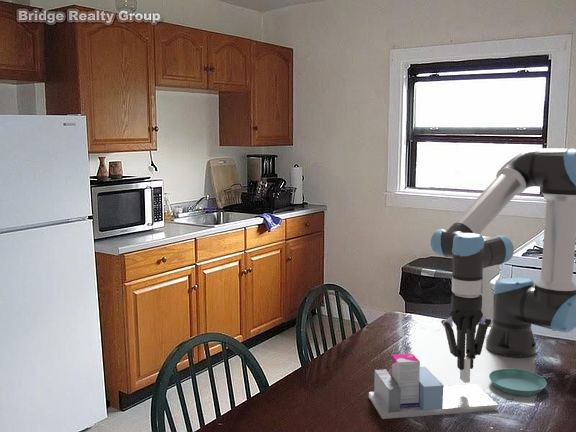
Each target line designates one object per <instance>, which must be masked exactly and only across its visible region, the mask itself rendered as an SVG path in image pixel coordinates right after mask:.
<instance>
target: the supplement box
mask: <svg viewBox="0 0 576 432" xmlns="http://www.w3.org/2000/svg"><path fill="white" fill-rule="evenodd" d="M420 367H421V361H420V360H419V359H418V358H417V357H416V356H415V355H414V354H413V353H402V354H401V353H400V354H391V375H390V376H391V377H392V378H393V379H394V381H395V382H396V383H397V384H398V386H399V387H400V388H401V399H400V406H405V405H418V404H419V381H420Z"/></svg>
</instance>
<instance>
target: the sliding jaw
mask: <svg viewBox="0 0 576 432" xmlns="http://www.w3.org/2000/svg"><path fill="white" fill-rule="evenodd" d="M444 387H445V385H444V384H443V383H442V382H441V381H440V380H439V379H438V378H437V377H436V376H435V374H433V373H432V372H431V371H430V370H429V369H428V367H427V366H420V381H419V405H420V406H421V407H422V409H423V410H429V409H443V389H444Z"/></svg>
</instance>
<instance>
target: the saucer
mask: <svg viewBox="0 0 576 432" xmlns="http://www.w3.org/2000/svg"><path fill="white" fill-rule="evenodd" d="M488 377H489V380H490V381H491V383H492V384H493V386H495V387H496V388H497V389H498V390H500V391H501V392H503V393H505V394H508V395H512V396H519V397H530V396H534V395H536V394H538V393H540V392H541V391H543V390H544V389H545V388H546V386H547V385H548V384H547V380H546V379H545V378H544V377H543V376H541V375H539V374H537V373H534V372H532V371H528V370H525V369H518V368H501V369H496V370H493V371H491V372H490V373H489V375H488Z"/></svg>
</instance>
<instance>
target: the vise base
mask: <svg viewBox="0 0 576 432" xmlns="http://www.w3.org/2000/svg"><path fill="white" fill-rule="evenodd" d="M391 376H392V375H391V374H390V373H389V372H388V370H387V369H386V368H385V369H374V385H373V386H374V389H373V390H374V391H369V392H368V399H369V400H370V401H371V403H372V405H373V406H374V408H375V409H376V411H377V413H378V414H379V416H380V418H381V419H382V420H385V419H387V420H388V419H398V418H399V419H400V418H402V419H403V418H413V417H415V418H416V417H424V416H426V417H427V416H441V415H451V414H463V413H467V414H468V413H481V412H491V411H492V412H493V411H499V410H498V409H499V407H498V406H499V404H498V403H497V402H496V401H494V400H493V398H491V397H490V396H489V395H488V393H486V392H485V391H483V389H482V388H481V387H480V386H478V385H477V384H466V385H452V386H444V389H443V409H429V410H423V409H422V407H421V406H420V405H419V404H418V405H405V406H400V399H401V388H400V387H399V386H398V384H397V383H396V382H395V381H394V379H393V378H392V377H391Z"/></svg>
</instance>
